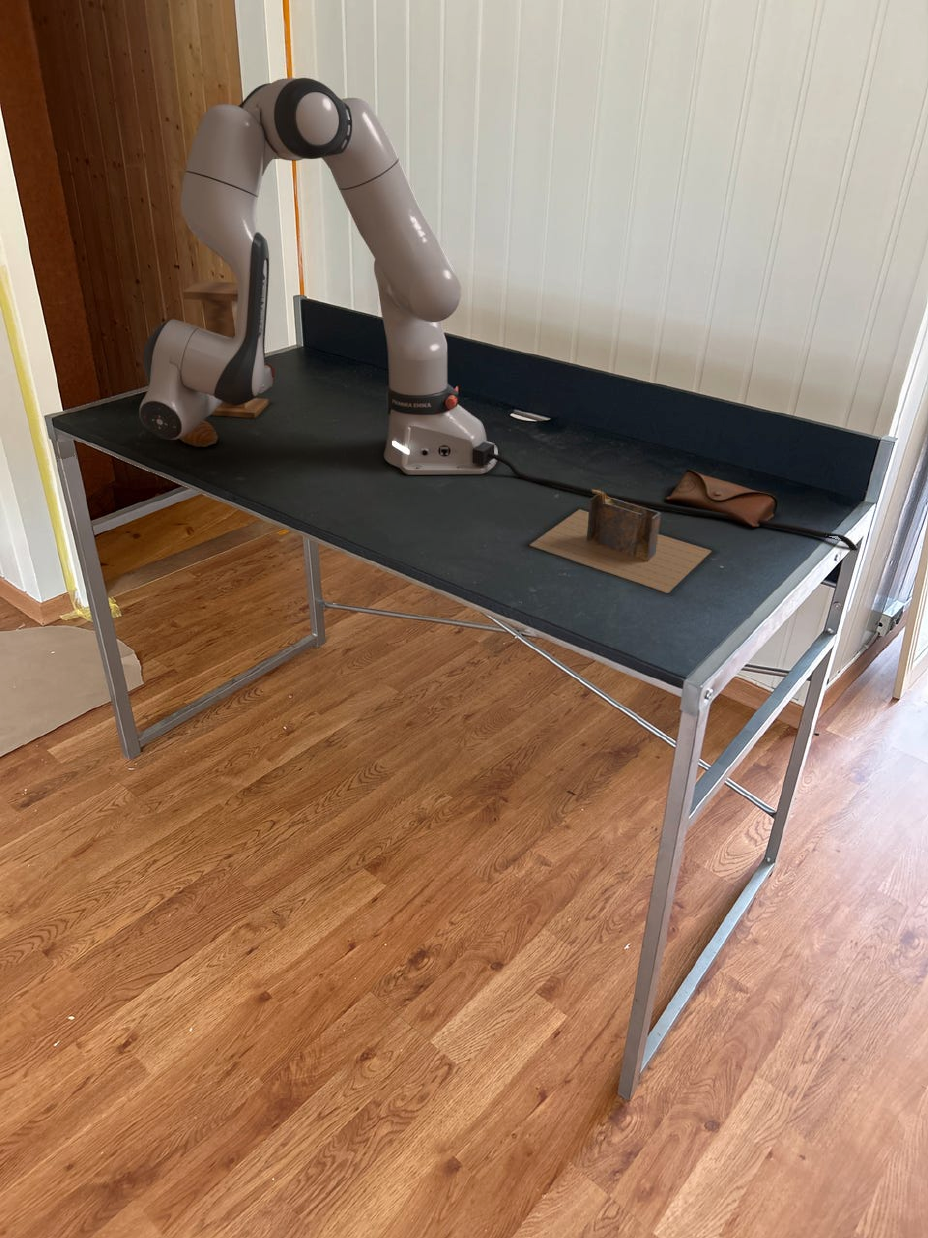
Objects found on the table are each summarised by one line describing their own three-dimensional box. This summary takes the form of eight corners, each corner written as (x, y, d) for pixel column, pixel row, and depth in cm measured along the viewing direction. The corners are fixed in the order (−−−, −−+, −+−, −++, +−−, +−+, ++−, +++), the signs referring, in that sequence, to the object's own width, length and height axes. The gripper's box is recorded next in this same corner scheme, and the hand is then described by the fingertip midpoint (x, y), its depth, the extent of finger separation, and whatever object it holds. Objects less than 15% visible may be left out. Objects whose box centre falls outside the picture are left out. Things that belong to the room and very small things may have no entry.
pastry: (227, 442, 187) (224, 424, 184) (198, 452, 183) (194, 434, 180) (202, 430, 192) (199, 412, 190) (173, 439, 188) (170, 421, 186)
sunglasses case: (662, 498, 165) (675, 462, 164) (675, 504, 171) (688, 470, 170) (757, 528, 156) (772, 491, 155) (767, 534, 162) (781, 498, 161)
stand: (268, 404, 205) (254, 283, 191) (255, 418, 198) (239, 293, 183) (217, 400, 207) (199, 280, 192) (202, 414, 199) (182, 291, 185)
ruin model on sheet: (529, 545, 151) (531, 491, 146) (579, 509, 163) (583, 458, 157) (667, 593, 139) (676, 536, 134) (712, 550, 150) (721, 496, 145)
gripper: (255, 373, 155) (281, 349, 167) (141, 366, 158) (175, 342, 170) (259, 409, 159) (285, 383, 170) (148, 401, 162) (180, 376, 173)
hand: (229, 363), depth 170 cm, fingers closed on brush, 2 cm apart
